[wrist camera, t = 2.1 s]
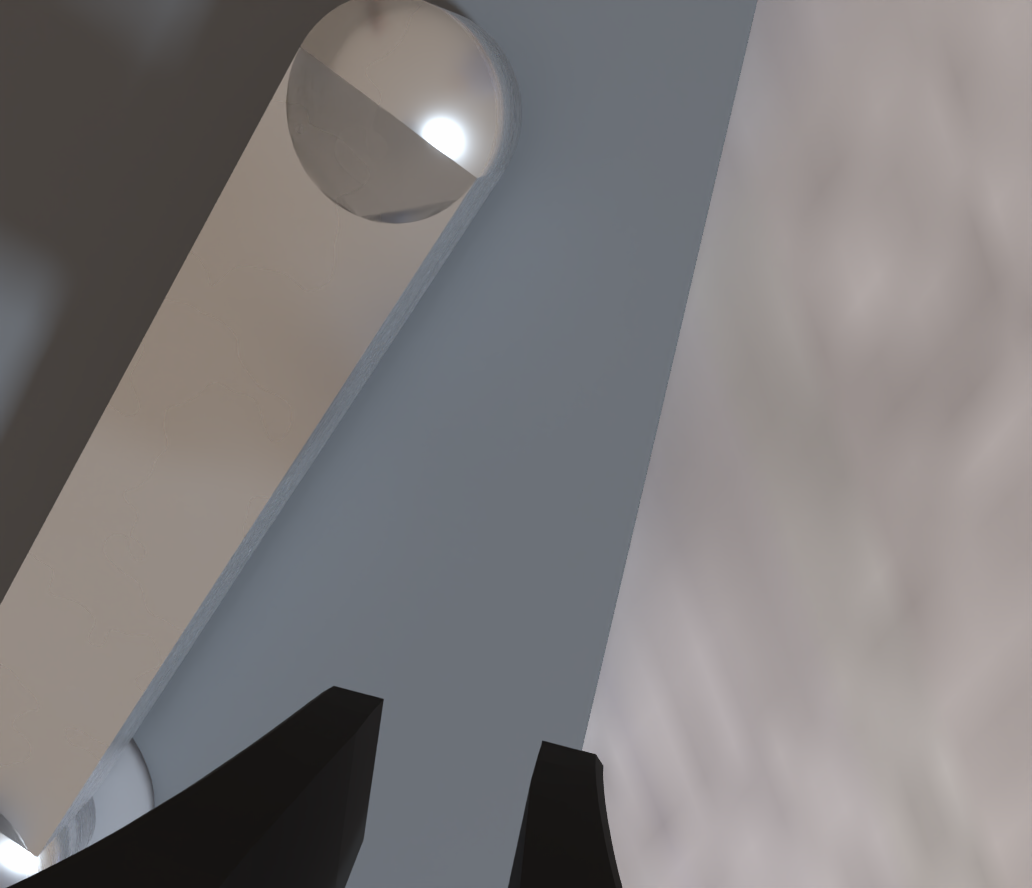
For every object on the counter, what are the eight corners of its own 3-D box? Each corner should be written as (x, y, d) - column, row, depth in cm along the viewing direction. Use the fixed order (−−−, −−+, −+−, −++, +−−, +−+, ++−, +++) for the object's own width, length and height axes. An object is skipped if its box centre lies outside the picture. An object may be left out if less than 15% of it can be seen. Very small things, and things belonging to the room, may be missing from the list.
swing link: (53, 896, 22) (-7, 967, 21) (-92, 798, 22) (-165, 860, 20) (586, 105, 15) (569, 105, 13) (372, -55, 15) (324, -79, 13)
